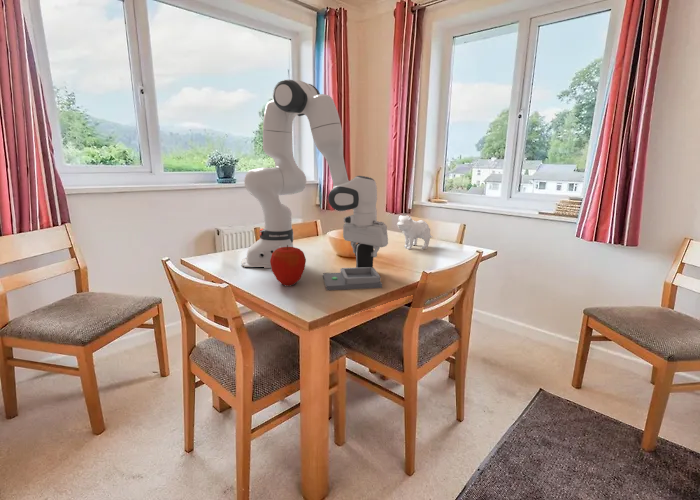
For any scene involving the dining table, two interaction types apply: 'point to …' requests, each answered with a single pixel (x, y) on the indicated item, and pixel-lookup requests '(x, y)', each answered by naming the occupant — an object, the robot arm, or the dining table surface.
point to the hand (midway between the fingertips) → (364, 254)
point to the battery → (363, 255)
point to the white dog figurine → (414, 231)
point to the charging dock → (353, 279)
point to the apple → (288, 264)
